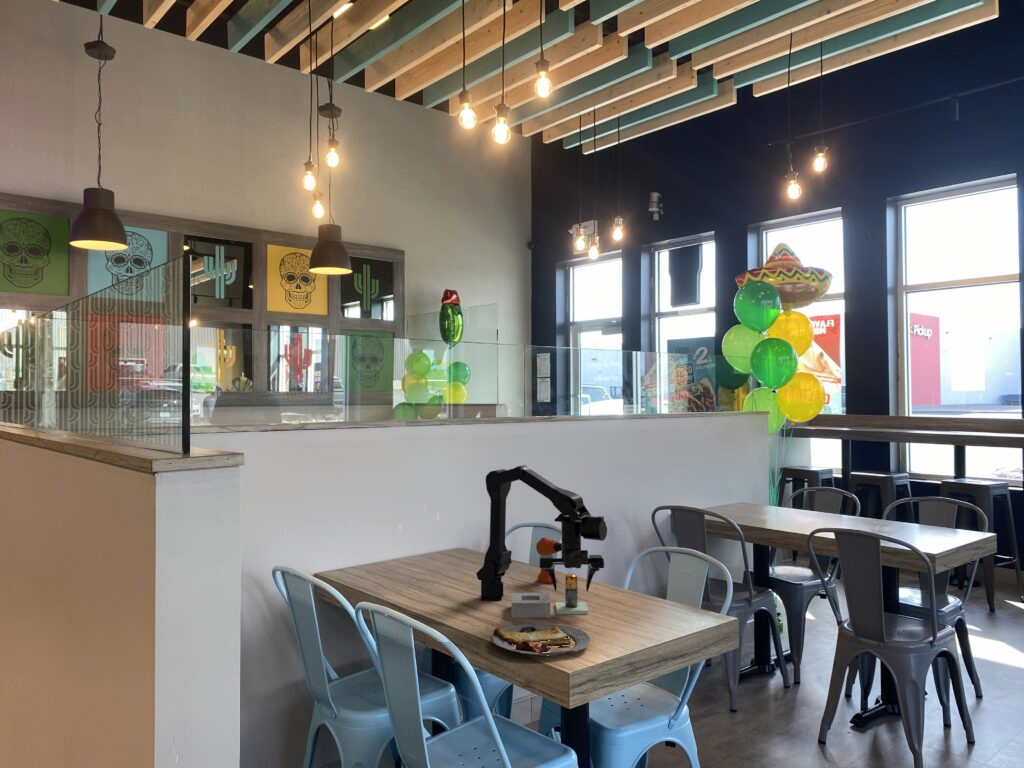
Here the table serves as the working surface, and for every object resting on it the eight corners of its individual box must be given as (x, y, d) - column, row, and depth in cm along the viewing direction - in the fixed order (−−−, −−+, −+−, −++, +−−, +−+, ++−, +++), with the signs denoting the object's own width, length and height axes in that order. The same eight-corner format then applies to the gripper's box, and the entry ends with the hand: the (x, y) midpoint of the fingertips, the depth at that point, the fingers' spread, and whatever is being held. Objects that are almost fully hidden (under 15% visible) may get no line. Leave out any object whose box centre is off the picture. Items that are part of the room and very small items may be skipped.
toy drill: (570, 587, 247) (566, 539, 249) (534, 582, 262) (531, 538, 264) (581, 584, 250) (577, 537, 251) (545, 580, 265) (542, 536, 267)
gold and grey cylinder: (565, 608, 225) (565, 577, 225) (565, 604, 228) (564, 574, 228) (578, 608, 225) (577, 577, 225) (577, 604, 228) (576, 574, 228)
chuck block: (511, 617, 219) (511, 603, 219) (512, 606, 230) (511, 593, 230) (550, 617, 219) (550, 603, 219) (548, 606, 230) (548, 592, 230)
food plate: (504, 664, 181) (505, 649, 181) (480, 635, 203) (480, 622, 203) (603, 656, 188) (604, 642, 188) (569, 629, 210) (570, 616, 210)
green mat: (556, 614, 222) (556, 610, 222) (555, 605, 231) (555, 602, 231) (588, 614, 222) (588, 610, 222) (585, 605, 231) (585, 602, 231)
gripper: (540, 542, 219) (540, 598, 219) (606, 542, 219) (606, 598, 218) (539, 535, 230) (539, 588, 230) (601, 535, 230) (602, 588, 230)
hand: (571, 590), depth 227 cm, fingers open, 9 cm apart
